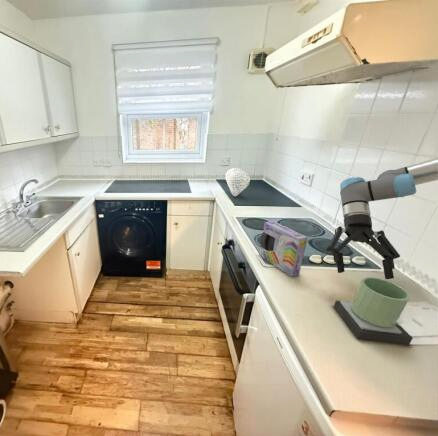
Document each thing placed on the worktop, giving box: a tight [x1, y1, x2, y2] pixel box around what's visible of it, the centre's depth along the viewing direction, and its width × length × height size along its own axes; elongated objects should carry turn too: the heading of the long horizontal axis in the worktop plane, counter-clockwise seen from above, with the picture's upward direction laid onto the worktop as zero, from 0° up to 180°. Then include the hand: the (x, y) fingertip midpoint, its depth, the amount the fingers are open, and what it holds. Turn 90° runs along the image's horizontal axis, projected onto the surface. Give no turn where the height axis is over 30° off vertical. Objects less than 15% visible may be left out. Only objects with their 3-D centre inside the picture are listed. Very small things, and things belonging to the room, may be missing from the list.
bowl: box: [351, 276, 411, 327], centre depth 71 cm, size 10×10×10 cm
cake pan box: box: [259, 220, 308, 277], centre depth 102 cm, size 19×5×18 cm, turn 18°
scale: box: [333, 300, 414, 347], centre depth 74 cm, size 13×13×4 cm
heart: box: [224, 167, 251, 197], centre depth 194 cm, size 28×16×22 cm, turn 175°
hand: (364, 275), depth 79 cm, fingers open, 13 cm apart
